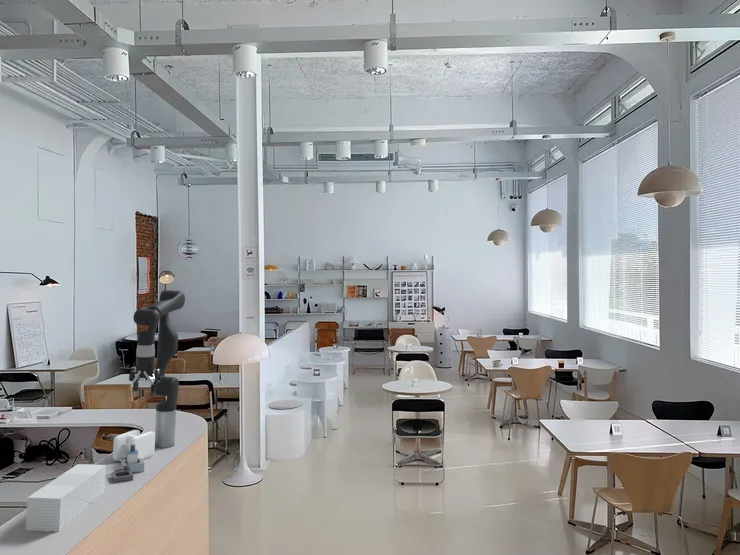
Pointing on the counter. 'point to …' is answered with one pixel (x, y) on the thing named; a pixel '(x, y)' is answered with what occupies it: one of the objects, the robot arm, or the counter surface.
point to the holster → (122, 476)
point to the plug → (132, 455)
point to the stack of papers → (65, 497)
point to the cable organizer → (141, 442)
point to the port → (133, 466)
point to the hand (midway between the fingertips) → (144, 391)
